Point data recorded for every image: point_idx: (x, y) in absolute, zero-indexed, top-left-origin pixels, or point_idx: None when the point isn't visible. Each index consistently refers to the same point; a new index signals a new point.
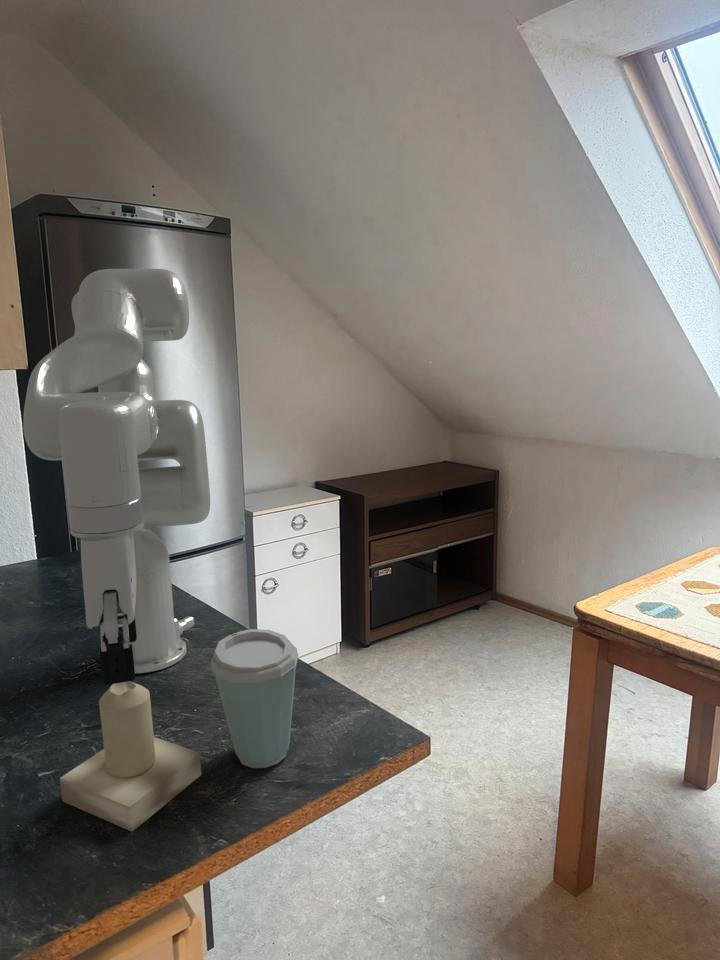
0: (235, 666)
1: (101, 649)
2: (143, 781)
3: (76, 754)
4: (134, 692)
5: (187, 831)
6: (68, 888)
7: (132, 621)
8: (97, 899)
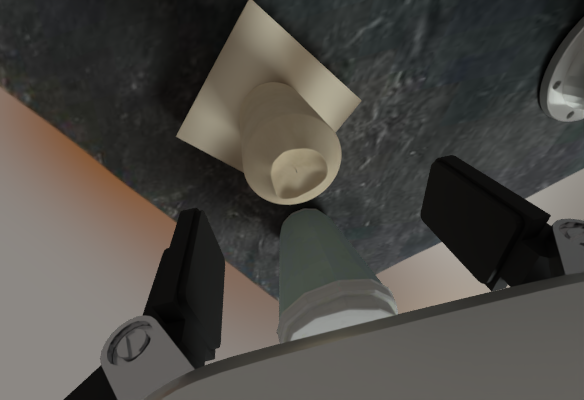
0: (296, 332)
1: (105, 345)
2: (231, 142)
3: None
4: (275, 198)
5: (186, 181)
6: (67, 65)
7: (460, 258)
8: (60, 109)
